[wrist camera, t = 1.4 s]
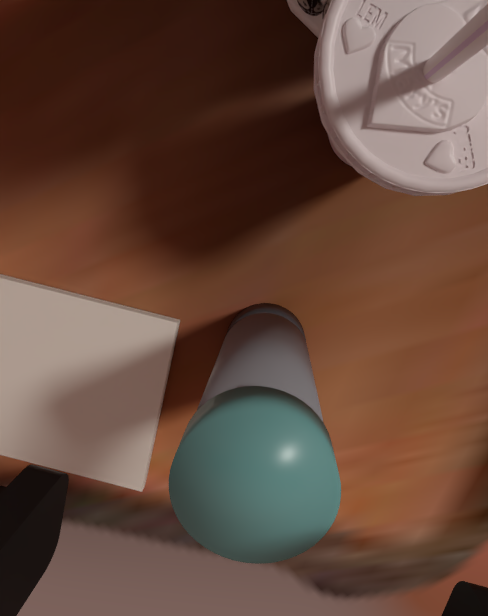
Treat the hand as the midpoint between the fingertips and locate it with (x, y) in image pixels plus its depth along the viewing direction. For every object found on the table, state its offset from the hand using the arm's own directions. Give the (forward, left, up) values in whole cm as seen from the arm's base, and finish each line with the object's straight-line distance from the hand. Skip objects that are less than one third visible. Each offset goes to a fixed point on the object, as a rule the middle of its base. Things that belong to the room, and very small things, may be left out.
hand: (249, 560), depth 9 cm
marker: (0, 0, -14) cm, 14 cm away
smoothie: (-11, +2, -14) cm, 18 cm away
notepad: (+5, -12, -14) cm, 19 cm away
